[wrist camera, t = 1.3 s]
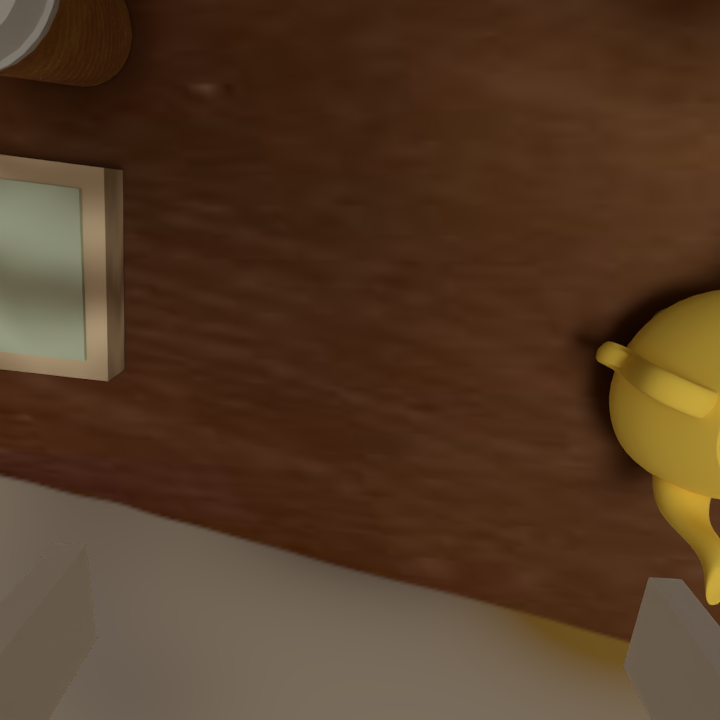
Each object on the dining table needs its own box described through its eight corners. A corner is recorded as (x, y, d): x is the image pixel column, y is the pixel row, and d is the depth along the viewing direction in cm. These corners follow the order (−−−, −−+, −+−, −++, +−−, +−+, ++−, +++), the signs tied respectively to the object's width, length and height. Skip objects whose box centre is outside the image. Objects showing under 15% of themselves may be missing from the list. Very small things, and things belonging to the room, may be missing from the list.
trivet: (-94, 142, 32) (-136, 137, 29) (122, 170, 32) (101, 167, 30) (-69, 346, 36) (-104, 359, 33) (124, 369, 36) (106, 382, 33)
